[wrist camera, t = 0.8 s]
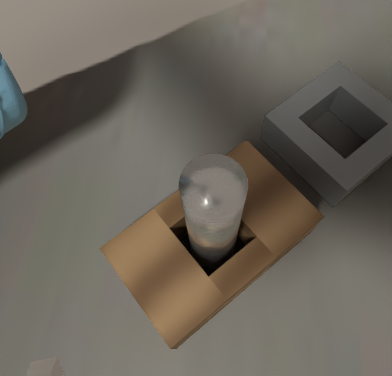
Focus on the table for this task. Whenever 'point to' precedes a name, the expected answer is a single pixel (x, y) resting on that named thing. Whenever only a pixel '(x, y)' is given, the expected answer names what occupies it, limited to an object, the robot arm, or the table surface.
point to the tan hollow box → (187, 266)
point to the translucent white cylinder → (213, 206)
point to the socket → (316, 147)
